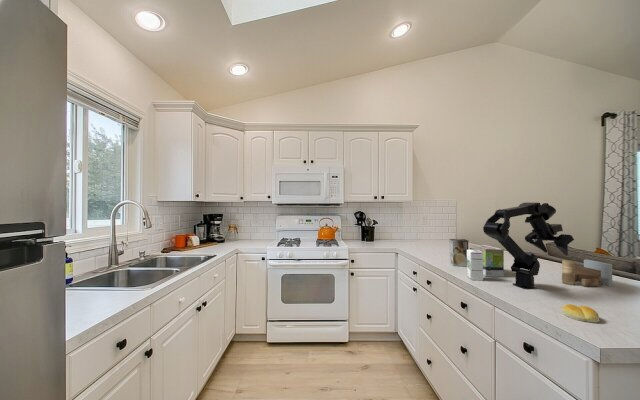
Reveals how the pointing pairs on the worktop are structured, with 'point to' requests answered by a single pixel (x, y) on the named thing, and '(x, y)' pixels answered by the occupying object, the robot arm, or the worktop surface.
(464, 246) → the coffee box
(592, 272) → the cradle
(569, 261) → the dowel
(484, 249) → the tea box
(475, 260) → the syrup box
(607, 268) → the backstop wall
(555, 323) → the worktop surface
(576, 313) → the bread roll
